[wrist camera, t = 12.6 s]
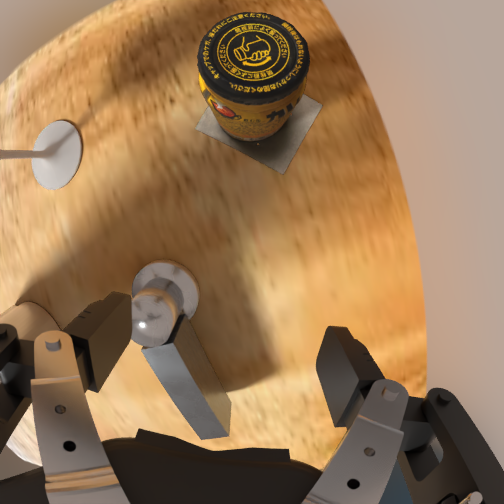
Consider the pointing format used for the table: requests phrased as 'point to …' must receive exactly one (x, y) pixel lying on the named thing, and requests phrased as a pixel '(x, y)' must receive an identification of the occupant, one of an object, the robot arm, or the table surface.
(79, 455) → the robot arm
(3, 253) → the table surface
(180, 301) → the swing arm
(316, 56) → the table surface
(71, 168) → the wineglass
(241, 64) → the condiment
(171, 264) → the swing arm mount
